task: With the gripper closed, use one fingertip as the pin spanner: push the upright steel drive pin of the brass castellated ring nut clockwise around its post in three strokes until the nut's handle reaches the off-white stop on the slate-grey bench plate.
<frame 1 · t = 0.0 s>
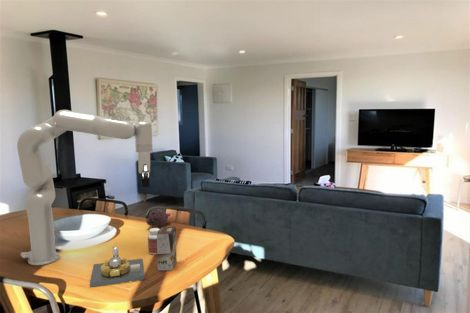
hand: (145, 184, 169), 31 cm above the table, fingers open, 9 cm apart
pine cone: (157, 226, 204), on the table
bench plate: (115, 275, 146), on the table
coffee box: (167, 266, 154), on the table
pill bottle: (155, 252, 169), on the table
ring nut: (115, 260, 147), point 5 cm above the table, hinge at 90.0°
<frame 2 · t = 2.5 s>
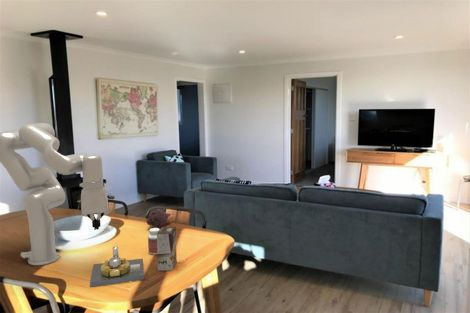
hand: (96, 228, 149), 18 cm above the table, fingers closed
nothing on the table moved.
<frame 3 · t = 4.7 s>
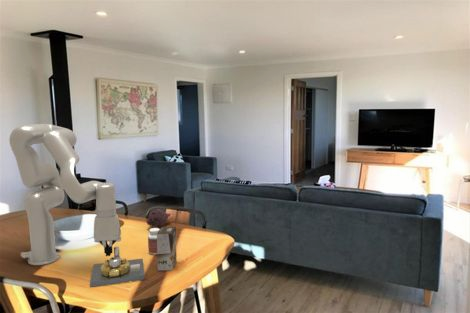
hand: (108, 254, 152), 6 cm above the table, fingers closed
ring nut: (115, 260, 147), point 5 cm above the table, hinge at 87.0°, touching gripper
everything else where it was.
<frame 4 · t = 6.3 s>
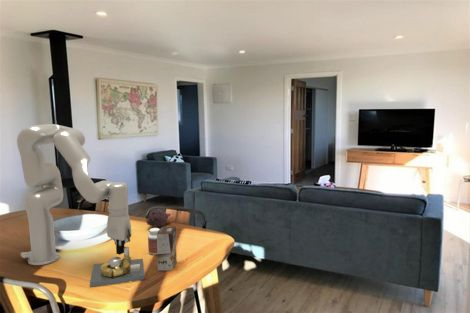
hand: (120, 253, 154), 5 cm above the table, fingers closed
ring nut: (118, 260, 147), point 5 cm above the table, hinge at 58.3°, touching gripper
everything else where it was.
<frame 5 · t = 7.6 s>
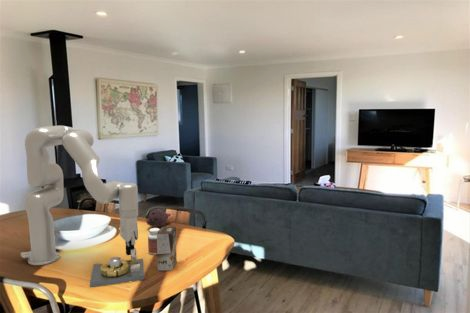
hand: (130, 254, 154), 5 cm above the table, fingers closed
ring nut: (120, 261, 146), point 5 cm above the table, hinge at 30.9°, touching gripper
everything else where it was.
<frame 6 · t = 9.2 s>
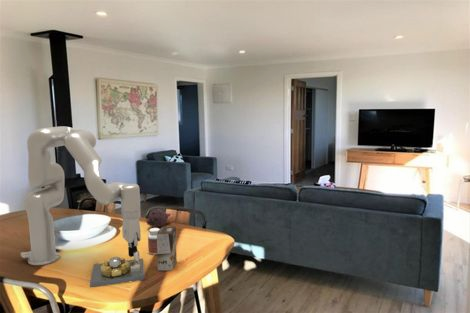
hand: (132, 255, 152), 5 cm above the table, fingers closed
ring nut: (120, 262, 146), point 5 cm above the table, hinge at 6.4°
everything else where it was.
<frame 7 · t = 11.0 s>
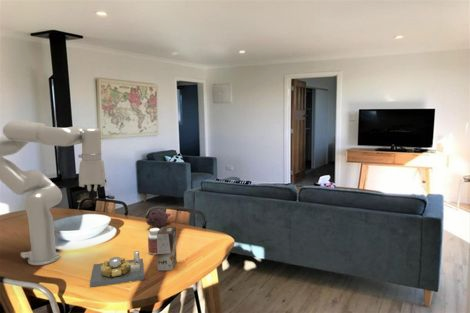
hand: (92, 199, 155), 28 cm above the table, fingers closed
nothing on the table moved.
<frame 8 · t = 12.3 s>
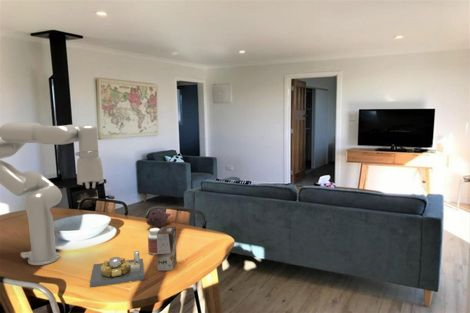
hand: (91, 196, 155), 29 cm above the table, fingers closed
nothing on the table moved.
at the end: ring nut at +6° (first picture: +90°); the gripper is holding nothing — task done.
